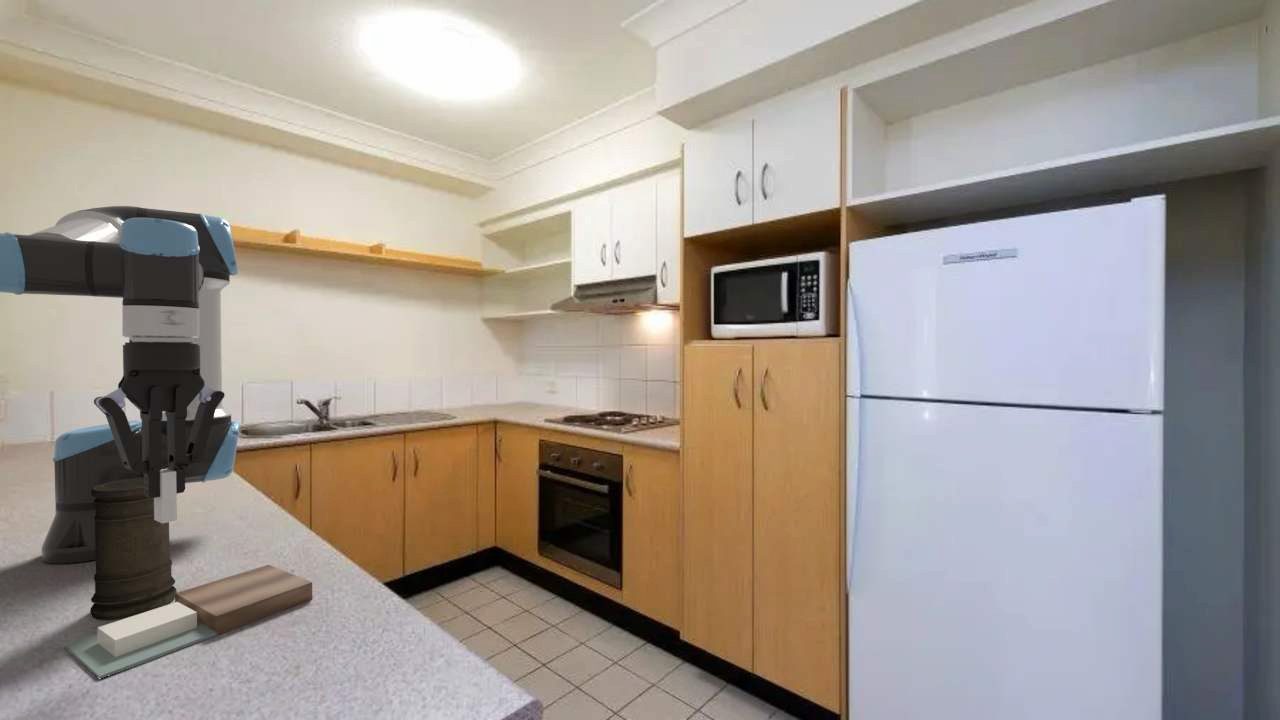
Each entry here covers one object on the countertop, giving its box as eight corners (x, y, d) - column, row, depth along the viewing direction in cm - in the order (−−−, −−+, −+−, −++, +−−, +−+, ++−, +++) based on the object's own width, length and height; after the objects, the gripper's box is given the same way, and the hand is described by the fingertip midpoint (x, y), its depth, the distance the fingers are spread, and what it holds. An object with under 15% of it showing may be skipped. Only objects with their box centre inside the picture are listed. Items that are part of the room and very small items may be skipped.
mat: (64, 647, 67) (64, 644, 67) (175, 610, 76) (175, 607, 76) (99, 679, 60) (99, 676, 60) (216, 635, 70) (216, 632, 70)
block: (97, 643, 67) (97, 627, 67) (177, 616, 74) (177, 601, 74) (115, 656, 64) (115, 640, 64) (197, 627, 71) (196, 612, 71)
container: (190, 596, 81) (188, 477, 80) (115, 625, 72) (113, 492, 72) (151, 588, 84) (149, 473, 83) (75, 615, 75) (73, 487, 75)
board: (175, 610, 76) (174, 593, 76) (268, 580, 87) (268, 564, 87) (216, 635, 70) (216, 616, 70) (312, 598, 80) (312, 582, 80)
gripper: (104, 339, 62) (107, 540, 63) (234, 341, 73) (236, 511, 74) (83, 339, 66) (86, 529, 67) (209, 341, 77) (212, 503, 78)
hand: (165, 519), depth 70 cm, fingers closed
